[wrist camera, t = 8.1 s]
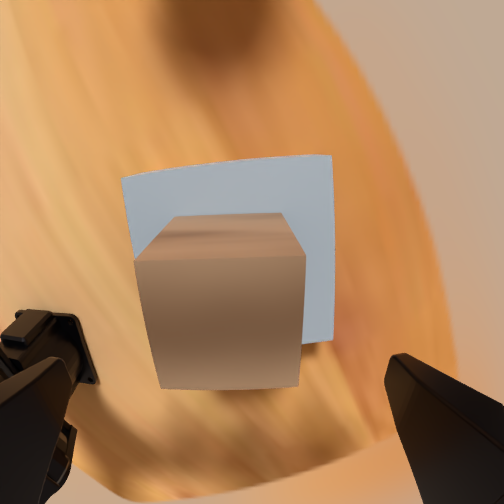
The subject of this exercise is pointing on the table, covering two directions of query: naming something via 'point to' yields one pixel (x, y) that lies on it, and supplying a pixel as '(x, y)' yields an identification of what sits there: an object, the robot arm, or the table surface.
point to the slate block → (250, 201)
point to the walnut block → (224, 302)
